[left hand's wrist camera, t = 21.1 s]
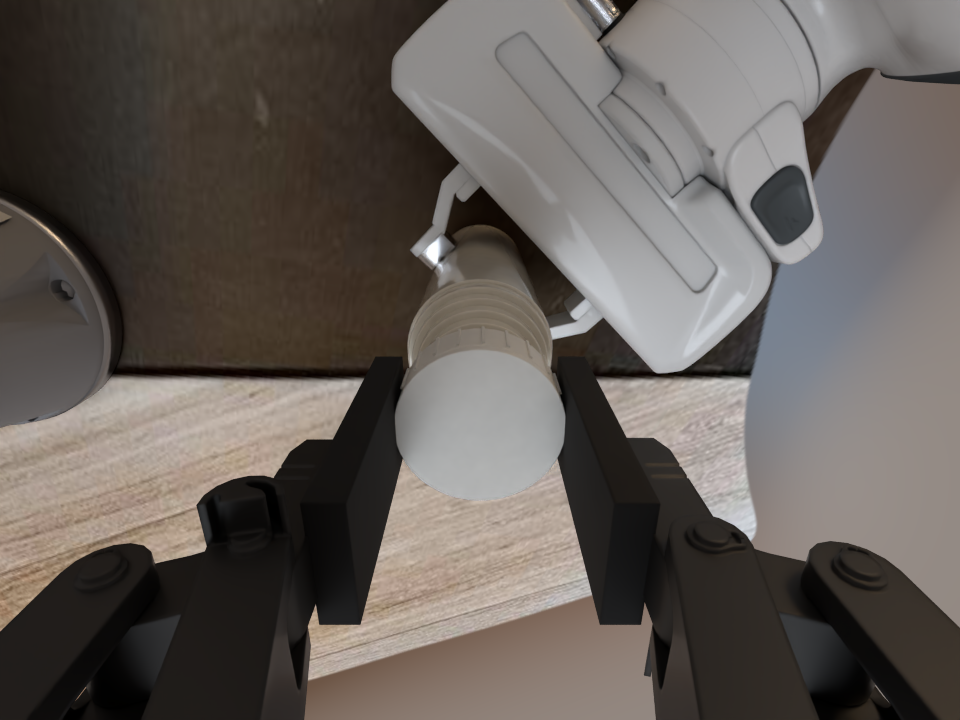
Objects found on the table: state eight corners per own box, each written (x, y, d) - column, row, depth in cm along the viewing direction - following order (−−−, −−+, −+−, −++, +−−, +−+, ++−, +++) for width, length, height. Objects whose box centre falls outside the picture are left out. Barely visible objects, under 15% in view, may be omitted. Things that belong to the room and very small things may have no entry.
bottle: (421, 261, 32) (341, 405, 14) (486, 206, 31) (495, 282, 12) (474, 323, 34) (467, 528, 15) (538, 273, 32) (616, 430, 14)
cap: (583, 353, 14) (596, 378, 13) (526, 483, 16) (530, 520, 14) (426, 303, 14) (419, 323, 12) (384, 443, 15) (373, 477, 14)
